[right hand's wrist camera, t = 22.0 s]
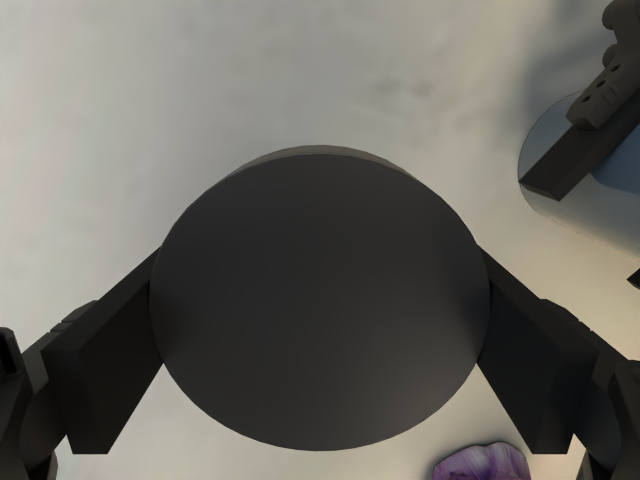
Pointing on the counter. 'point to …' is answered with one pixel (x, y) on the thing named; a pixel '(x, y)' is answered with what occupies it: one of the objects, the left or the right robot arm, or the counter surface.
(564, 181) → the left robot arm
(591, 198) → the jar
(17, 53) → the counter surface
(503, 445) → the figurine
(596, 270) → the counter surface
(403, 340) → the lid
